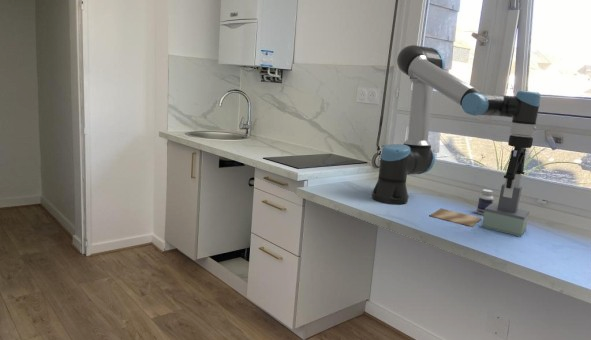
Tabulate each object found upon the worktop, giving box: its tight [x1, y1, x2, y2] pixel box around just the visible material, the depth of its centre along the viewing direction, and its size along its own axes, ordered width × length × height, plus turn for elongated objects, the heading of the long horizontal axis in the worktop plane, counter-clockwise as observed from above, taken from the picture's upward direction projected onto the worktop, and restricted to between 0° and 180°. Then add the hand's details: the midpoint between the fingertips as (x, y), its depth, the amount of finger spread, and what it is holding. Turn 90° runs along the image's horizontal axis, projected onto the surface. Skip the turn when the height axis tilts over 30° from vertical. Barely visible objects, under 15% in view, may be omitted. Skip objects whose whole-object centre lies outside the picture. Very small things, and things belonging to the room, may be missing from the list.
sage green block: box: [480, 211, 529, 237], centre depth 160 cm, size 13×11×6 cm
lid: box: [485, 183, 530, 220], centre depth 158 cm, size 13×11×10 cm
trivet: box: [429, 208, 483, 228], centre depth 168 cm, size 16×14×1 cm
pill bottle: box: [476, 188, 494, 216], centre depth 177 cm, size 5×5×10 cm
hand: (511, 194), depth 158 cm, fingers open, 13 cm apart
